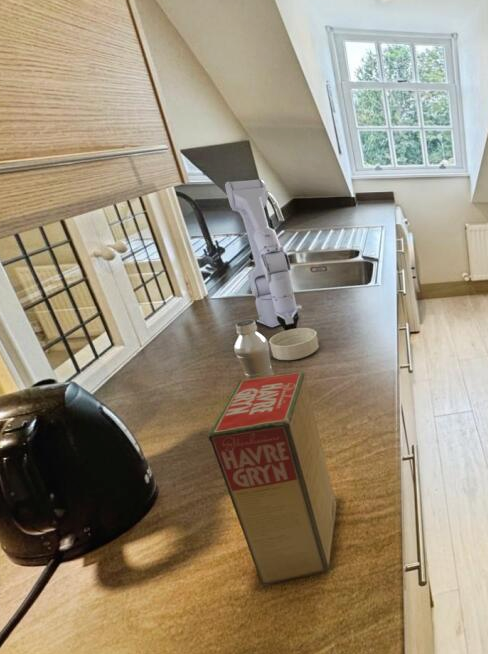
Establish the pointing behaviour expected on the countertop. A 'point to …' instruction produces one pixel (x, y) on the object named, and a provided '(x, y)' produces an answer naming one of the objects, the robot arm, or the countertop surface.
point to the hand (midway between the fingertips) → (292, 338)
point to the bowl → (294, 343)
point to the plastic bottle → (252, 350)
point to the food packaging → (277, 476)
